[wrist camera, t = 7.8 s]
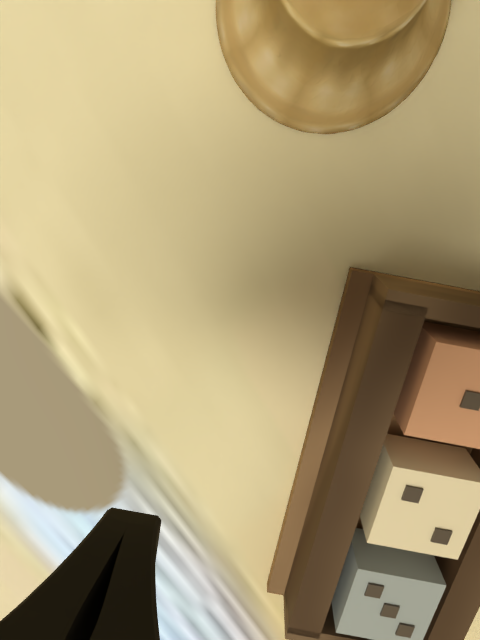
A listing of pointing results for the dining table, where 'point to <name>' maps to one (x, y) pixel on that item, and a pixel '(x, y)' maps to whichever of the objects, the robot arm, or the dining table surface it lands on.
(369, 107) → the hand bell
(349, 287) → the wooden tray
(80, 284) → the dining table surface
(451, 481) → the key two cream
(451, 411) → the key one terracotta
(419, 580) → the key three slate
